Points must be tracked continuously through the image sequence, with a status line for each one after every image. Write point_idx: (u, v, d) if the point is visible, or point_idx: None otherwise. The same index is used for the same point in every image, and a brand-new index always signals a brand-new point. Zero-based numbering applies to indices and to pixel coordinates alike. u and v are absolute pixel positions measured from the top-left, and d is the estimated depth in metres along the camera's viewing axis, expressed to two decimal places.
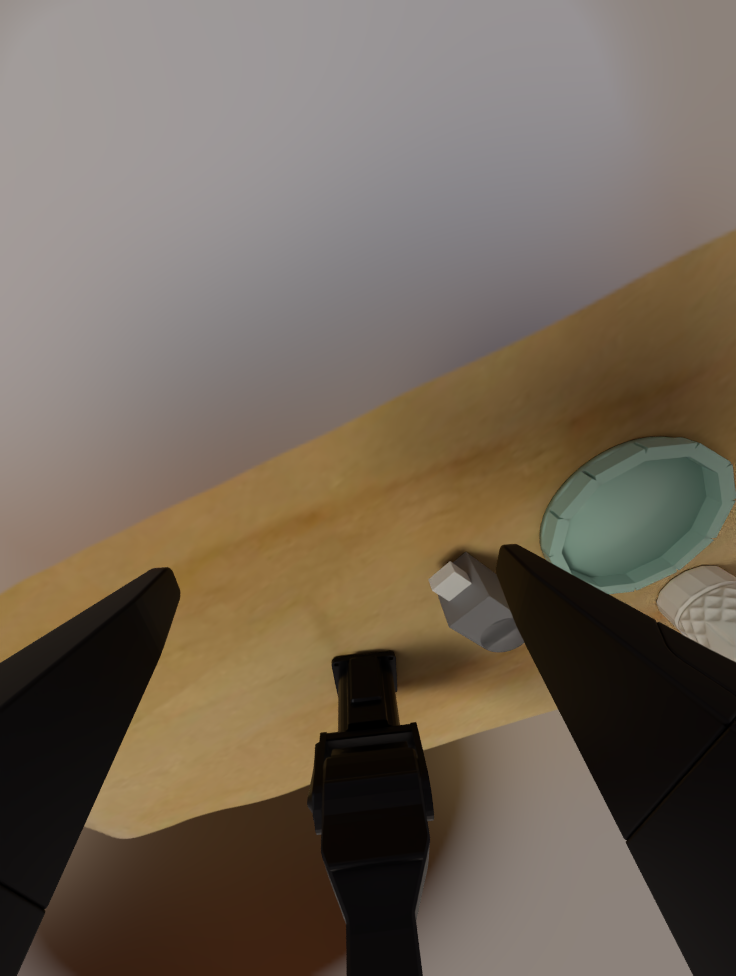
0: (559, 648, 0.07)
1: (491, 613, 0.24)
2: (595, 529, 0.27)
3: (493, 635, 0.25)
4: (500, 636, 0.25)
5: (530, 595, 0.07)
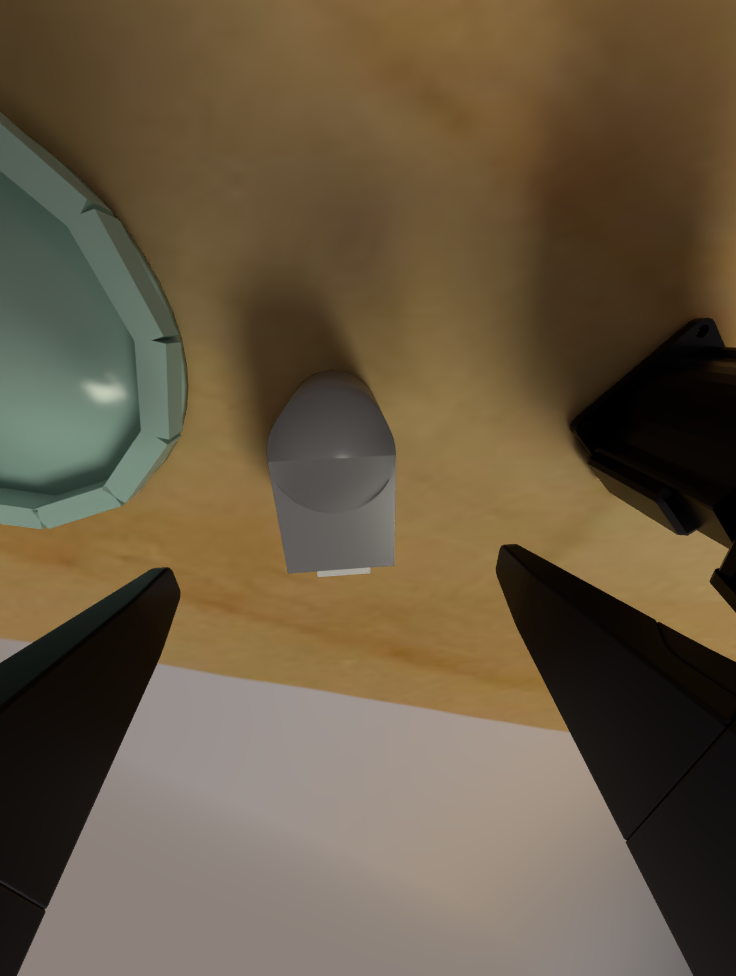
0: (559, 648, 0.07)
1: (312, 535, 0.11)
2: (58, 382, 0.12)
3: (351, 481, 0.10)
4: (341, 466, 0.10)
5: (530, 595, 0.07)
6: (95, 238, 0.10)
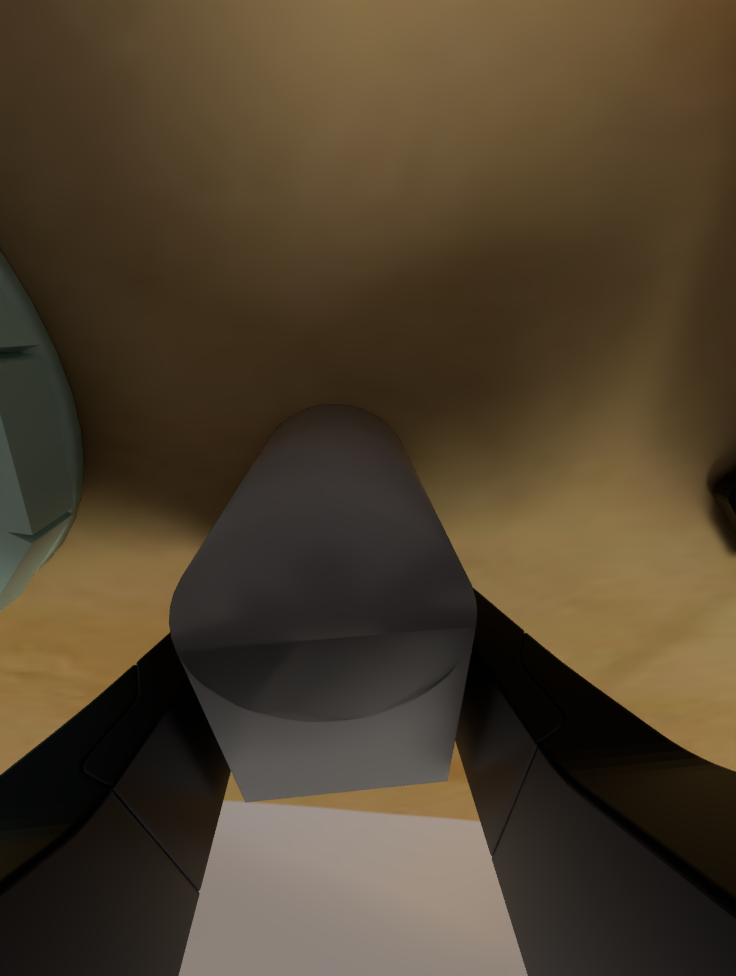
0: None
1: (290, 754, 0.06)
2: None
3: (373, 673, 0.05)
4: (349, 651, 0.04)
5: None
6: None
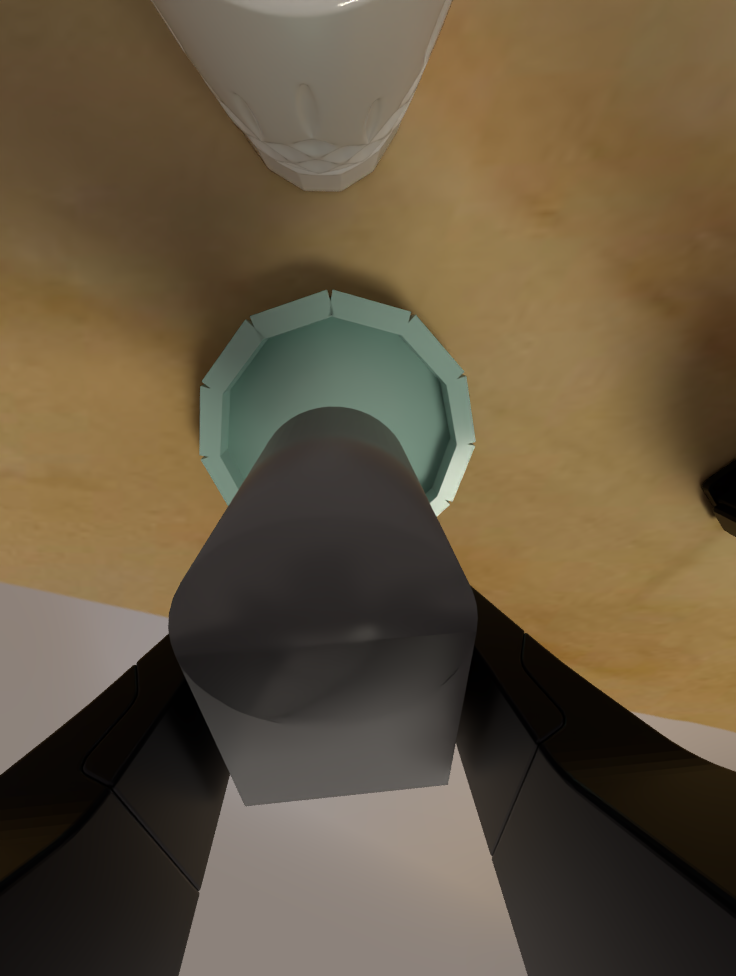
0: None
1: (289, 758, 0.06)
2: None
3: (373, 678, 0.05)
4: (350, 656, 0.04)
5: None
6: (459, 391, 0.16)
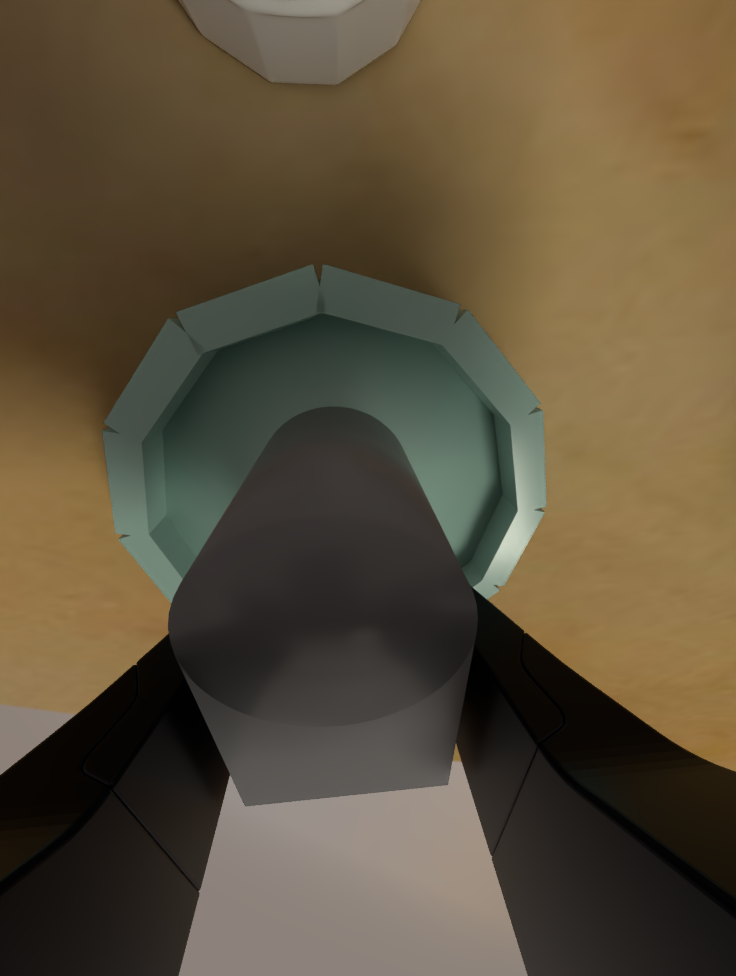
0: None
1: (290, 758, 0.06)
2: None
3: (373, 678, 0.05)
4: (350, 656, 0.04)
5: None
6: (530, 433, 0.10)
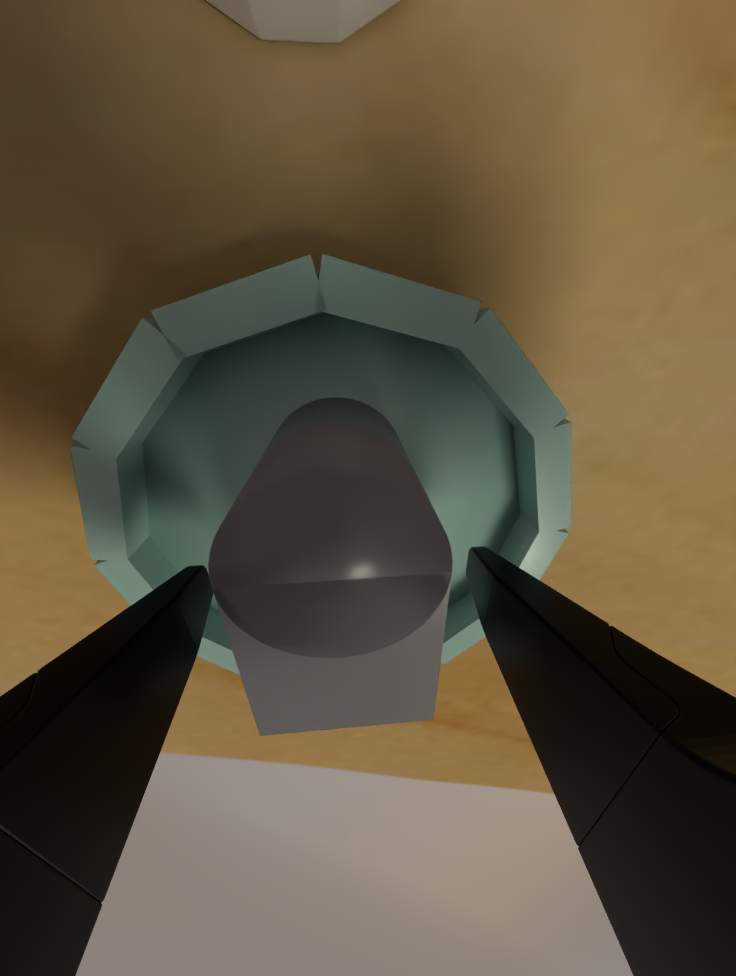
0: (518, 651, 0.07)
1: (299, 688, 0.07)
2: None
3: (369, 613, 0.06)
4: (350, 592, 0.06)
5: (493, 598, 0.07)
6: (556, 447, 0.09)
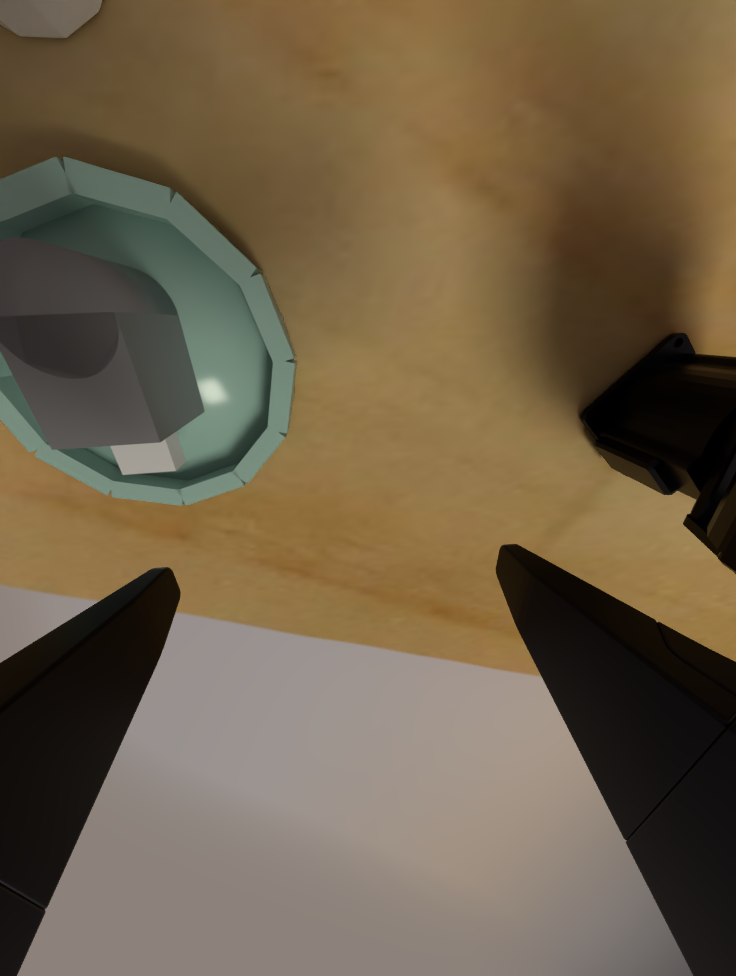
0: (559, 648, 0.07)
1: (61, 405, 0.12)
2: (203, 392, 0.17)
3: (79, 342, 0.11)
4: (61, 324, 0.11)
5: (530, 595, 0.07)
6: (257, 292, 0.14)
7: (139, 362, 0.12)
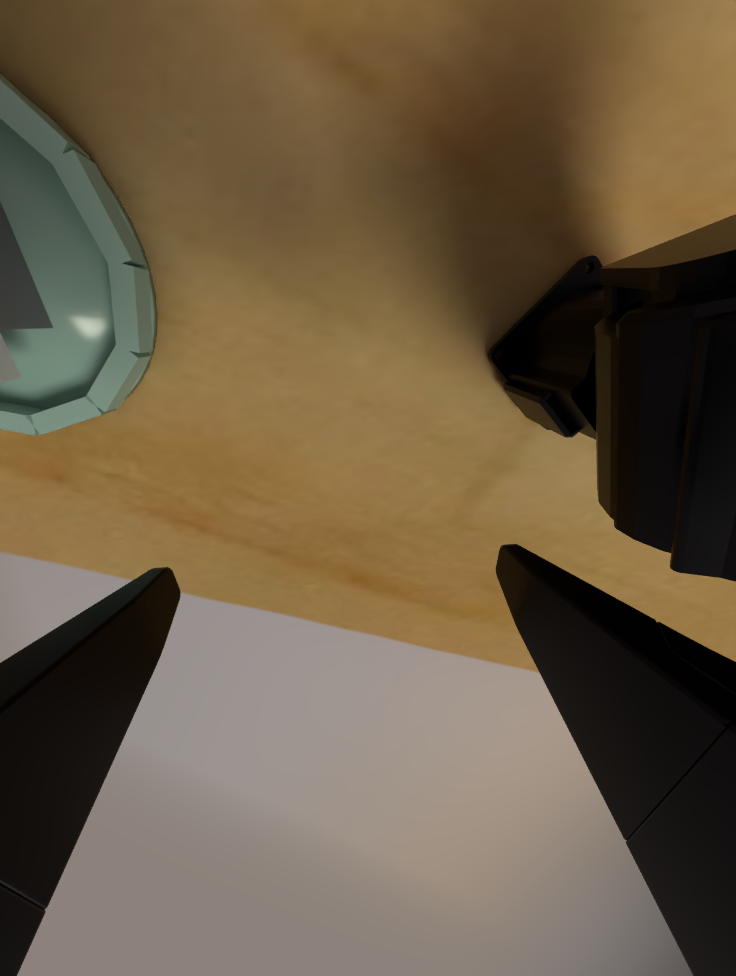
0: (559, 648, 0.07)
1: None
2: (48, 304, 0.15)
3: None
4: None
5: (530, 595, 0.07)
6: (74, 174, 0.12)
7: None
